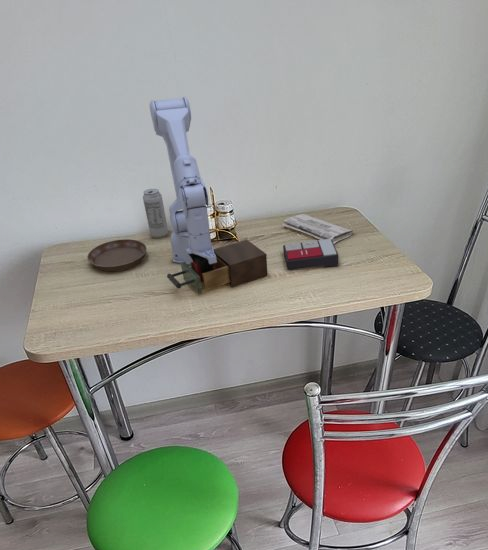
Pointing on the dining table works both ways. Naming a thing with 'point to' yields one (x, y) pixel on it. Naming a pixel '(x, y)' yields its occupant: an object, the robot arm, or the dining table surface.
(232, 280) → the cabinet
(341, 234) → the newspaper
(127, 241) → the plant saucer
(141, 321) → the dining table surface
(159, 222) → the energy drink can
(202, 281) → the card box
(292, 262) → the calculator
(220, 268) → the drawer
